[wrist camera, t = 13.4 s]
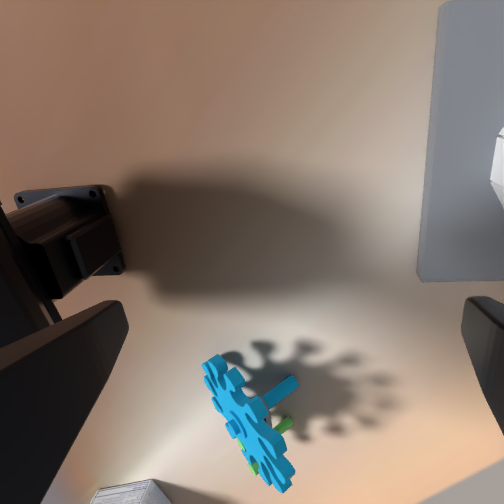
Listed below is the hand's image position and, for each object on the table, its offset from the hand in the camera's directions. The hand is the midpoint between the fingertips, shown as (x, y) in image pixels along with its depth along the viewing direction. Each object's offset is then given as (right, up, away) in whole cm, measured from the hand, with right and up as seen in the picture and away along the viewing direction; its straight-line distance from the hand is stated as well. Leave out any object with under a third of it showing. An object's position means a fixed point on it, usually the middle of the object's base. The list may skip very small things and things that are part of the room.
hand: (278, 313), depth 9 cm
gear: (-1, -9, +19) cm, 21 cm away
